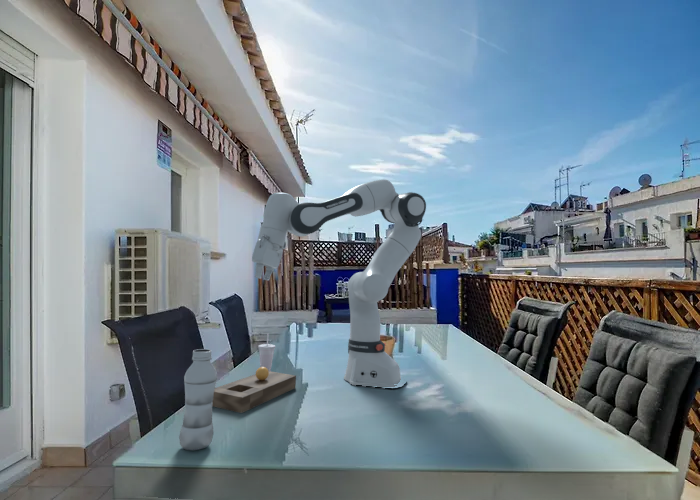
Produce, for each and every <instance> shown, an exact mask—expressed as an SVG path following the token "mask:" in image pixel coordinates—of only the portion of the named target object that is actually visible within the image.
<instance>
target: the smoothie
mask: <svg viewBox="0 0 700 500" xmlns="http://www.w3.org/2000/svg"><path fill="white" fill-rule="evenodd" d="M266 335H267V336H266V343H263V344H258V348H257V349H258V352H259V353H258V354H259V364H260V367H266V368H267V369H268V371H271V372H272V365H273V359H274V354H275V349H276V345H275V344H272V343H271V344H270V343H269V338H270V337H269V336H270V333H267V334H266ZM260 367H259V368H260Z"/></svg>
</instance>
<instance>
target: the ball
mask: <svg viewBox="0 0 700 500" xmlns="http://www.w3.org/2000/svg"><path fill="white" fill-rule="evenodd" d="M255 374H256V377H257V379H259V380H265V379H266V378H267V377H268V375H269V371H268V369H267V368H266V367H258V368H257V369H256V371H255Z"/></svg>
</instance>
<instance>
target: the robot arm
mask: <svg viewBox="0 0 700 500" xmlns="http://www.w3.org/2000/svg"><path fill="white" fill-rule="evenodd" d="M265 204H266V205H265V208H264V211H263V222H262V223H261V225H260V229H259V233H258V236H257V241H256V242H255V245H254V249H253V252H252V256H251V261H252V262H253V263H255V274H254V277H255V278H256V279H260V280H261V279H262V278H263V280H264V281H270V279H271V276H272V274H273V272H274V269H278V268H279V265H280V263H281V260H282V258H283V253H284V250H285V249H286V247H287V242H286V237H287V233H290V234H291V235H292V234H293V235H294V236H297V237H300V238H301V237H306V236H308V235H310V234H314V233H316V232H317V231H318V230H319V229H320V228H321V227H322V226H323V225H324V224H325V223H327V222H329V221H331V220H335V219H337V218H340V217H342V216H346V215H350V216H353V217H362V216H367V215H369V214H372V213H375V212H378V211H380V213H381V216H382V217H383V218H384V220H385V221H387V222H389V223H391V224H393V225H394V226H393V229H392V230H391V233H390V234H388V236H387V237H386V238H385V239H384V240H383V242H382V243H381V245H380V246H379V247H378V248H377V249H376V251H374V253H373V256H372V258H371V260H370V261H369V264H368V265H367V266H366V268H365V269H364V270H363V271H359V272H355V273H353V275H352V276H351V277H350V278H349V280H348V282H347V290H348V291H347V292H348V304H349V305H348V306H349V313H350V314H349V315H350V320H349V321H350V325H349V339H348V342H347V343H348V344H347V353H348V358H347V365H346V369H345V373H344V376H343V380H345V381H347V382H349V384H350V385H351V384H352V385H351V386H356V385H362V386H361V387H366V386H377V387H395V386H397V385H394V384H398V383H399V382H400V380H401V377H402V375H401V369H400V365H399V363H398V362H397V361H396V360H394V358H393V357H391V356H390V355H389V354H388V353H387V352H386V351H385V348H386V346H387V345H386V344H387V342H383V341H382V340H381V322H382V321H381V316H380V312H379V305H378V302H380V301H382V300H383V299H385V297H386V296H387V294H388V292H389V288H390V287H391V285H392V283H393V281H394V279H395V278H396V277H395V276H396V275H397V274H398V272H399V271H400V269H401V267H402V266H403V265H404V264H405V263H406V261H407V260H408V259H409V257H411V255H412V254H413V252H414V250H415V249H416V247H417V246H418V244H419V242H420V240H421V238H422V231H421V229H420V227H419V225H421V223H422V222H423V218H424V216H425V213H426V211H427V202H426V200H425V198H424V197H423V196H422V195H421V194H420V193H417V192H413V191H411V192H405V193H397V191H396V189H395V186H394V184H393V183H392V182H391V181H389V180H388V179H377V180H372V181H368V182H364V183H362V184H359V185H357V186H355V187H353V188H350V189H349V190H347V191H346V192H345V193H344V194H343V195H341V196H338V197H335V198H332V199H329V200H326V201H323V202H302V203H301V202H300V203H299V202H298V201H297V200H296V199H295V198H294V197H293V195H292V194H290V193H286V192H274V193H272V194H270V195H269V197H268V199H267V202H266V203H265ZM264 267H266V268H265V273H264V275H263V268H264Z"/></svg>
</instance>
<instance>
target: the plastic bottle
mask: <svg viewBox="0 0 700 500" xmlns="http://www.w3.org/2000/svg"><path fill="white" fill-rule="evenodd" d="M212 359H213V357H212V349H207V348H199V349H194V350H193V351H192V357H191V361H192V363H191V364H190V366H189V367H188V368H187V369H186V370H185V371H186V372H185V374H184V376H183V379H184V381H183V384H184V394H185V395H184V399H185V400H184V402H185V403H184V413H183V418H182V425H181V428H180V431H179V435H178V436H179V437H178V438H179V444H180V446H181V447H182V449H183V450H186V451H199V450H203V449H205V448H207V447H208V446H210V444H211V442H212V441H213V438H214V432H215V431H214V424H213V406H212V404H213V402H212V401H213V396H214V390H215V388H216V384H217V379H218V373H217V369H216V368H215V366H214V365H213V364H212V362H211V361H212Z"/></svg>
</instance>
